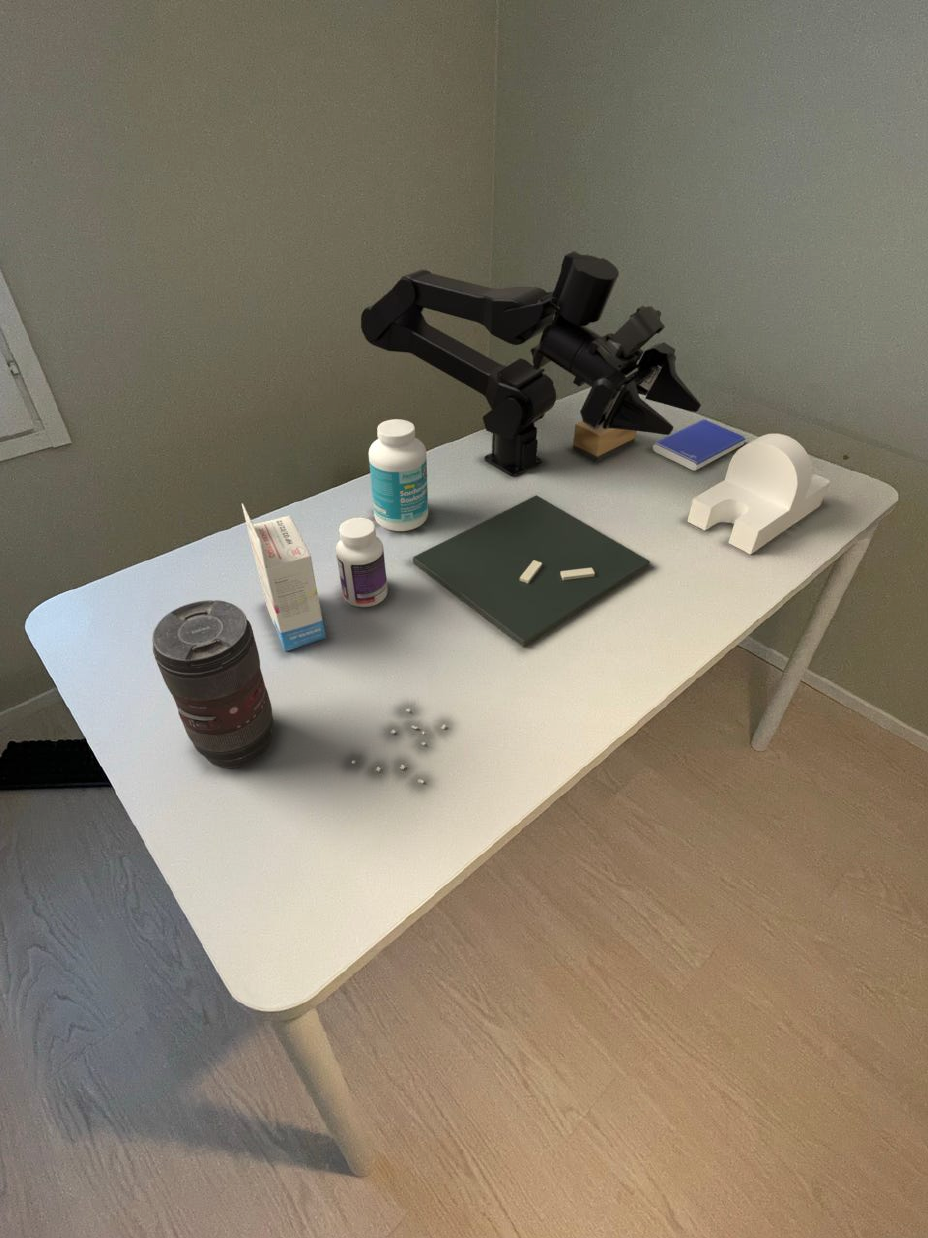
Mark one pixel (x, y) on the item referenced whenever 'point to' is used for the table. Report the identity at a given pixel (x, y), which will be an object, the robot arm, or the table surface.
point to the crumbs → (422, 744)
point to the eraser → (600, 441)
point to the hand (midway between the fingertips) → (685, 419)
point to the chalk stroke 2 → (577, 573)
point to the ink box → (287, 580)
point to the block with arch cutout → (761, 492)
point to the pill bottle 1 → (361, 563)
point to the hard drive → (698, 444)
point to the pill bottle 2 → (398, 476)
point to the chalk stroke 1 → (530, 571)
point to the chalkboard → (504, 549)
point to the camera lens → (215, 680)
